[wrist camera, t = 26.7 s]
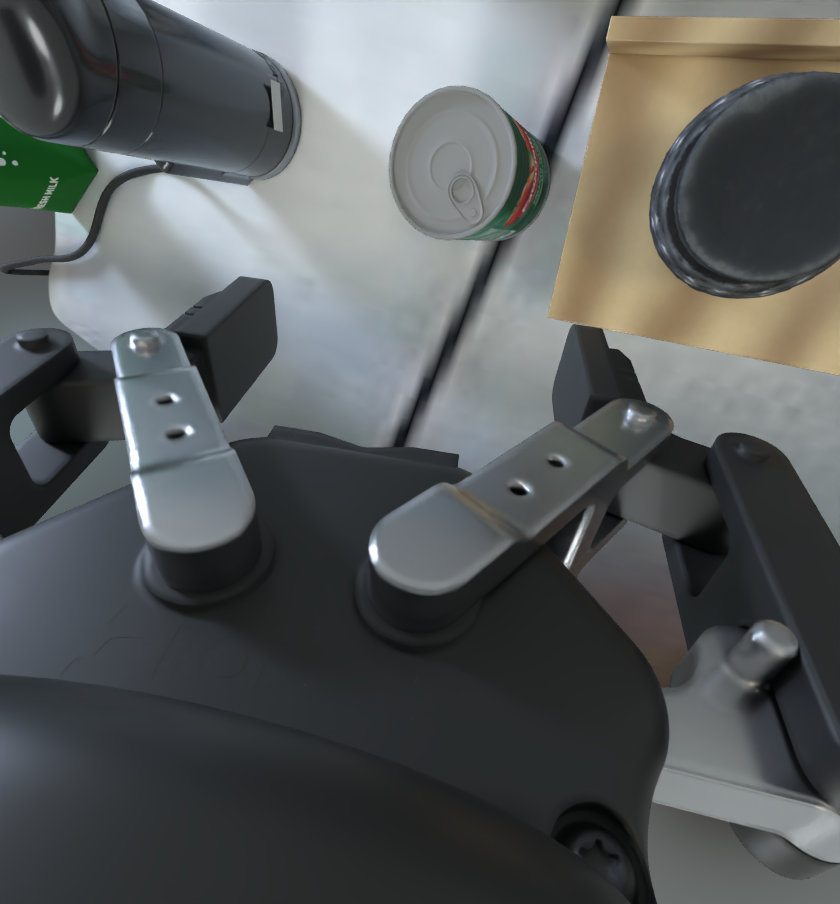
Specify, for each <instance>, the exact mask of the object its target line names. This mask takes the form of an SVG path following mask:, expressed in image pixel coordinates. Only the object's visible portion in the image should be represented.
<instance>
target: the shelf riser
mask: <svg viewBox="0 0 840 904" xmlns="http://www.w3.org/2000/svg"><path fill="white" fill-rule="evenodd" d="M606 41H607V46H608V50H609V55H608V59H607V64H606V68H605V72H604V76H603V81H602V85H601V89H600V94H599V98H598V102H597V106H596V111H595V115H594V119H593V124H592V128H591V132H590V136H589V141H588V145H587V149H586V154H585V158H584V162H583V166H582V171H581V175H580V179H579V184H578V188H577V192H576V196H575V201H574V205H573V209H572V214H571V218H570V222H569V226H568V231H567V235H566V239H565V244H564V248H563V252H562V256H561V261H560V265H559V269H558V273H557V278H556V282H555V286H554V291H553V295H552V299H551V303H550V308H549V312H548V316H547V317H548V318H551V319H556V320H561V321H567V322H572V323H577V324H582V325H587V326H592V327H597V328H602V329H607V330H612V331H617V332H622V333H627V334H632V335H637V336H642V337H647V338H652V339H657V340H663V341H668V342H673V343H678V344H683V345H688V346H693V347H698V348H703V349H708V350H713V351H718V352H723V353H728V354H733V355H738V356H743V357H748V358H753V359H759V360H764V361H769V362H774V363H779V364H784V365H789V366H794V367H799V368H804V369H809V370H814V371H819V372H824V373H829V374H834V375H839V376H840V259H839V260H838V261H837V262H836V263H834V264H833V265H832V266H831V267H829V268H828V269H826V270H825V271H824V272H822V273H820V274H819V275H817V276H815V277H814V278H813V279H811V280H809V281H807V282H805V283H803V284H801V285H798V286H795V287H793V288H792V289H790V290H788V291H784V292H780V293H777V294H774V295H770V296H765V297H760V298H748V299H747V298H746V299H734V298H733V299H730V298H722V297H718V296H712V295H710V294H707V293H704V292H699V291H696V290H694V289H692V288H691V287H689V286H688V285H687V284H686V283H684V282H683V281H681V280H680V279H678V278H676V276H675V275H674V274H673V273H672V272H671V271H670V269H669V268H668V267H667V266H666V265H665V263H664V262H663V261H662V260H661V258H660V257H659V255H658V253H657V250H656V248H655V245H654V243H653V238H652V235H651V231H650V227H649V225H650V220H649V209H650V200H651V197H650V195H651V191H652V187H653V184H654V182H655V178H656V175H657V173H658V171H659V169H660V167H661V164H662V162H663V160H664V158H665V155H666V153H667V152H668V150H669V149H670V147H671V146H672V145H673V143H674V142H675V140H676V139H677V138H678V136H679V134H680V133H681V132H682V131H683V130H684V129H685V127H686V126H687V125H688V124H689V123H690V122H691V121H692V120H693V119H694V118H695V117H696V116H697V115H698V114H699V113H700V112H701V111H703V109H705V108H706V107H707V106H709V105H710V104H712V103H713V102H714V101H715V100H717V99H719V98H721V97H723V96H725V95H726V94H728V93H729V92H731V91H733V90H735V89H737V88H739V87H741V86H742V85H744V84H747V83H749V82H751V81H756V80H758V79H761V78H764V77H767V76H770V75H773V74H774V75H777V74H783V73H789V72H794V73H795V72H798V73H800V72H812V71H818V72H824V71H825V72H835V73H840V19H795V18H722V17H649V16H612V17H611V20H610V25H609V29H608V33H607V38H606Z"/></svg>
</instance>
